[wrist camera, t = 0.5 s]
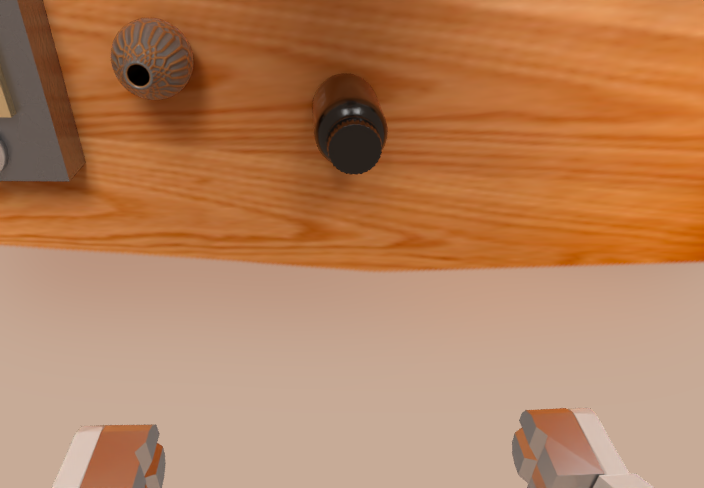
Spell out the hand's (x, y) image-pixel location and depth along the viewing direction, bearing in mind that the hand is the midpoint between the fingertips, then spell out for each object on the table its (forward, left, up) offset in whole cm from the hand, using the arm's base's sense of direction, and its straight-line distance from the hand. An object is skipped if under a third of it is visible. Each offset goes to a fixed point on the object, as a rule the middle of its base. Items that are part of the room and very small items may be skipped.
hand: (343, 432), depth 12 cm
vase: (+3, -15, -46) cm, 49 cm away
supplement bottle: (+8, +3, -46) cm, 47 cm away
